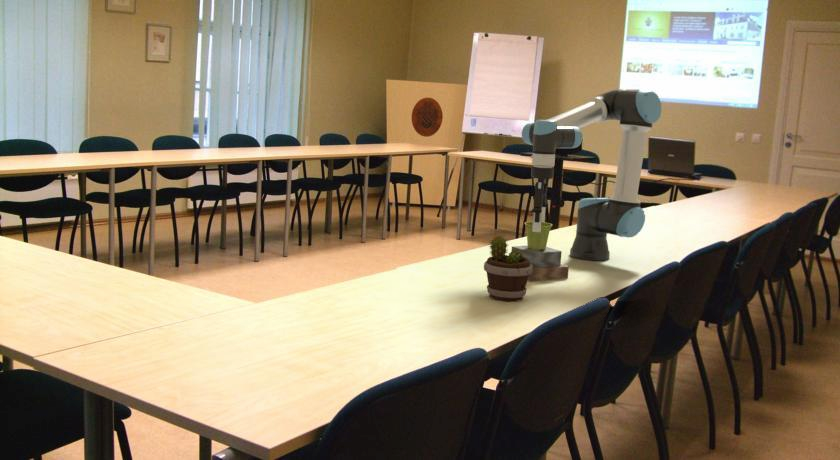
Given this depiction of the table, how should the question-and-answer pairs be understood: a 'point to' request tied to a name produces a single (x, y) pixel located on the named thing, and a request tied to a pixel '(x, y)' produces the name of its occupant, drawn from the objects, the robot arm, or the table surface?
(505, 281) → the flowerpot
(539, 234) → the plant pot
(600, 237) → the robot arm
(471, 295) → the table surface
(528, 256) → the pedestal
